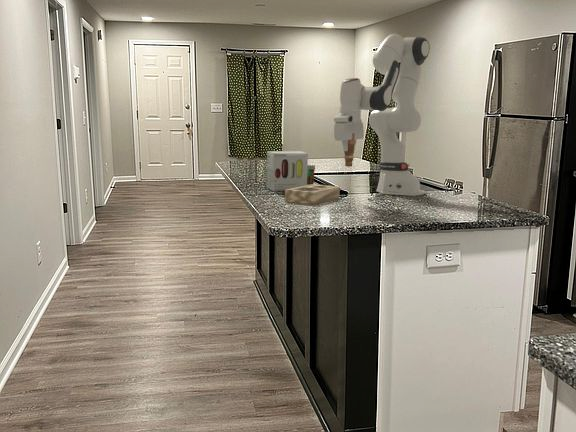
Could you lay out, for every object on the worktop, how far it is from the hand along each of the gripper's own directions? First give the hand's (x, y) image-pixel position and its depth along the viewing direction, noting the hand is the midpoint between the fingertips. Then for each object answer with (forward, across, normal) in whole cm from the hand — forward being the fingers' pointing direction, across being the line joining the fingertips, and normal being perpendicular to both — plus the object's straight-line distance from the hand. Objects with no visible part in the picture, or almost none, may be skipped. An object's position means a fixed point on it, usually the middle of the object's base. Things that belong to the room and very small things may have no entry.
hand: (349, 150), depth 249 cm
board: (+21, +8, -13) cm, 26 cm away
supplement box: (+22, -12, -40) cm, 46 cm away
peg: (+7, 0, 0) cm, 7 cm away
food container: (+21, -34, -44) cm, 59 cm away
